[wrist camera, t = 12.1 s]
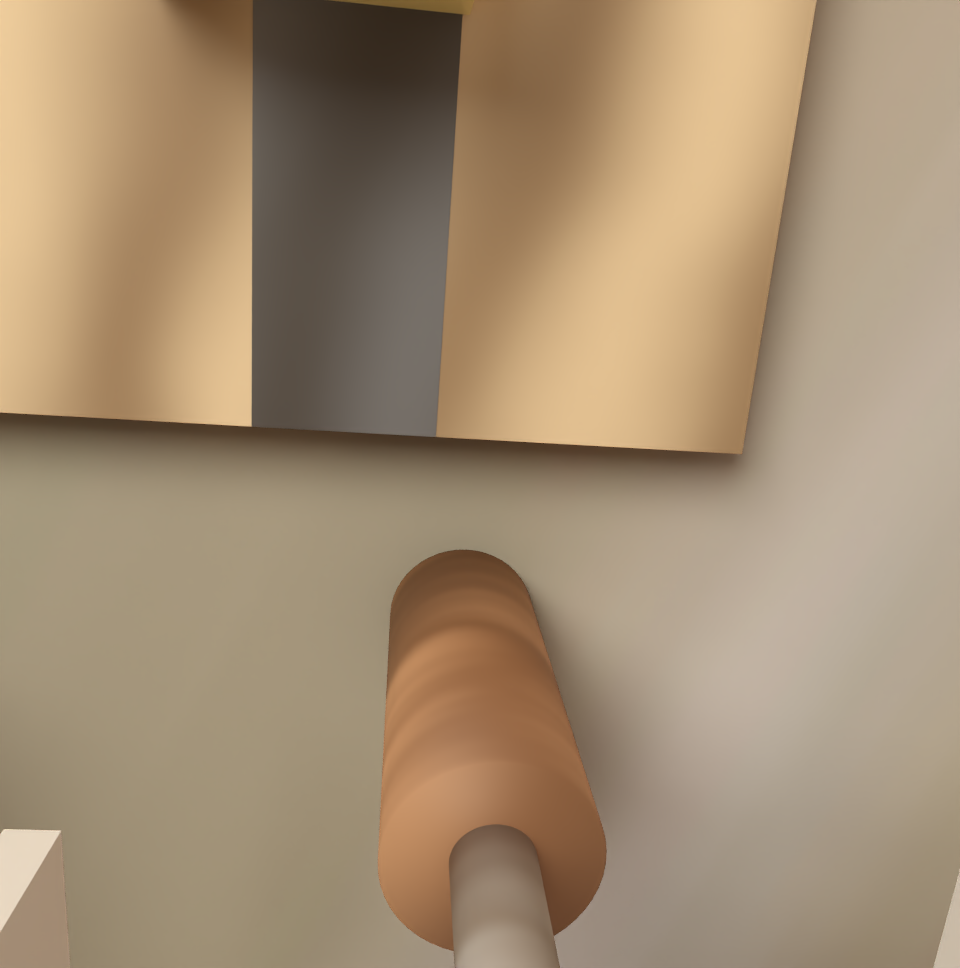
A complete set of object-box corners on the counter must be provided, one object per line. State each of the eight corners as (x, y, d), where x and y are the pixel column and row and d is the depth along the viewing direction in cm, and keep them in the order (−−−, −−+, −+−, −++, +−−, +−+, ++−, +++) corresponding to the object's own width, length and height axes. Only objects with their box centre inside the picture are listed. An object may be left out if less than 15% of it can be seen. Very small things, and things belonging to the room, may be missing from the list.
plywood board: (-440, 371, 19) (-510, 383, 18) (-632, -507, 15) (-744, -586, 13) (719, 438, 22) (742, 454, 20) (835, -301, 17) (874, -349, 16)
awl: (387, 677, 23) (359, 1226, 10) (393, 546, 22) (372, 980, 9) (524, 681, 23) (658, 1218, 11) (537, 552, 22) (702, 980, 10)
